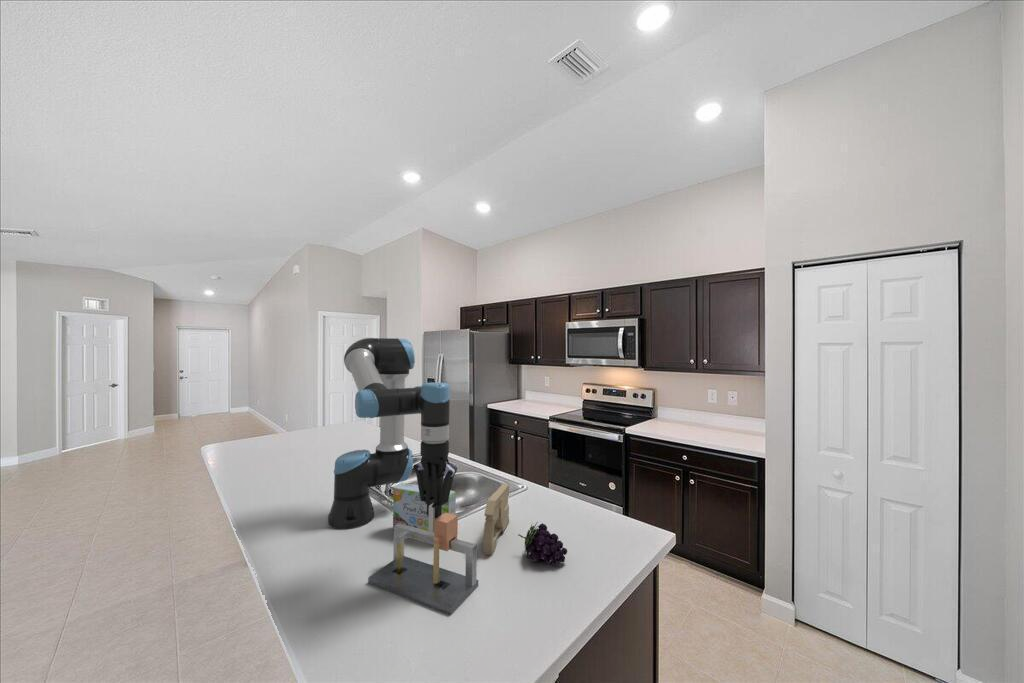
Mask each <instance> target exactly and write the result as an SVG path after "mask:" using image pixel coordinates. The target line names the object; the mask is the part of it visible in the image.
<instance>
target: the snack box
mask: <svg viewBox="0 0 1024 683" xmlns="http://www.w3.org/2000/svg"><path fill="white" fill-rule="evenodd" d="M392 490H393V491H392V494H393V495H392V532H393V533H394V526H395V525H397V524H398V523H400V524H404V525H408V526H411V527H415V528H419V529H422V530H426V531H429V516H427V504H426V502H424V501H421V499H420V493H419V487H418V484H412V483H407V482H400V483H399V484H397V485H395V486H393V488H392ZM456 492H457V491H455V490H450V495H449V500H448V502H447V503H445V504H444V505H442V515H443V514H444V513H449V514H453V515H456V514H457V513H456V512H457V511H456V510H457V509H456V508H457V507H456V506H457V503H456V502H457V494H456ZM424 495H425V494H424ZM430 532H431V531H430ZM433 533H434V532H433Z"/></svg>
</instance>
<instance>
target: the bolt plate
mask: <svg viewBox="0 0 1024 683" xmlns="http://www.w3.org/2000/svg"><path fill="white" fill-rule="evenodd" d="M433 565H434V564H429V563H426V562H425V561H421V560H417V559H415V558H412V557H407V556H405V555H404V559H402V574H400V575H398V574H397V561H394V560H392V561H390V562H388V563H387V564H386V565H384V566H383V567H381V568H379V570H376V572H374V573H372V574H371V575H369V576H368V577H367V578H368V579H367V583H368V584H369V585H371V586H374V587H377V588H380V589H382V590H384V591H387V592H389V593H392V594H395V595H397V596H400V597H403V598H404V599H405V598H406V599H408V600H410V601H413V602H415V603H418V604H421V605H424V606H426V607H429V608H431V609H433V610H437V611H439V612H442V613H443V614H447V615H449V616H452V615H453V613H455V611H457V610H458V608H459V607H460V606H461V605H462V604H463V603H464V602H465V601H466V600H467V599H468V597H470V596H471V594H473V592H474V591H475V590H476V589H477V588H478V587H479V579H477V578H476V583H475V584H474V585H473V586H469V585H466V584H465V579H466V575H464V574H460V573H458V572H455V571H451V570H448V569H447V568H446V569H445V568H442V567H440V566H439V582H438V583H437V584H436V583H433ZM440 587H441V588H444V589H440Z"/></svg>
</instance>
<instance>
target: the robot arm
mask: <svg viewBox="0 0 1024 683" xmlns="http://www.w3.org/2000/svg"><path fill="white" fill-rule="evenodd" d="M415 357H416V355H415V351H414V347H413V345H412V343H411V341H410V340H408V339H406V338H397V337H396V338H387V337H386V338H385V337H384V338H382V337H366V338H362V339H359V340H356V341H354V343H352V344H351V345H350V346H348V347H347V349H346V351H345V352H344V356H343V362H344V366H345V368H346V370H347V371H348V372H349V373H351V376H352V377H353V380H354V382H355V385H356V389H357V390H358V391H357V392H356V393H355V398H354V409H355V415H356V416H357V417H358V418H360V419H362V418H363V419H374V418H380V425H379V428H380V429H379V431H380V432H379V444H377V445H376V446H375V452H374V453H373V452H372V453H371V452H370V450H368V449H357V450H352V451H348V452H345V453H342V454H341V455H339V456H338V457H337V458H336V459H335V462H334V469H333V474H334V475H333V476H334V478H333V480H334V482H333V487H334V488H333V501H332V505H331V509H330V512H329V513H328V516H327V525H328V526H329V527H330V528H334V529H338V530H339V529H340V530H347V529H355V528H358V527H361V526H364V525H366V524H368V523H370V522H372V520H373V519H374V518H375V508H374V506H373V503H372V499H371V497H370V488H373V487H374V488H375V487H379V486H384V485H390V484H397V483H402V482H405V481H406V480H407V481H408V479H409V478H410V477H411V474H412V471H413V470H414V472H415V474H416V475H415V476H416V480H417V485H418V487H419V493H420V499H421V501H424V502H426V504H427V516H429V531H431V532H434V520H435V519H436V518H438V517H439V516H441V515H442V505H444V504H445V503H447V502H448V500H449V495H450V491H452V485H453V480H454V478H455V477H454V476H455V475H456V474H457V471H458V470H457V469H456V467H452V466H451V465H450V461H449V457H448V456H449V454H450V441H449V439H450V402H451V401H450V400H451V394H450V385H449V384H448V383H447V382H437V381H436V382H424V383H423V384H422V385H421V386H419V385H418V386H414V387H406V386H405V385H406V384H405V383H406V378H407V377H408V376H409V375H410V370H413V369H414V368H415V363H416V358H415ZM419 414H420V440H422V441H421V442H420V456H421V458H420V461H419V462H418V463H415V464H414V458H413V450H411V449H410V448H409V446H408V445H409V444H407V443H406V442H405V416H407V415H419ZM424 494H425V495H424Z"/></svg>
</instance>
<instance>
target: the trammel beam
mask: <svg viewBox="0 0 1024 683" xmlns="http://www.w3.org/2000/svg"><path fill="white" fill-rule="evenodd" d="M408 538H409V539H413V540H416V541H419V542H423V543H427V544H428V545H433V546H434V544H433V538H434V533H433V532H430V531H426V530H422V529H419V528H415V527H411V526H408V525H404V524H400V523H398V524H397V525H395V526H394V532H393V556H392V557H393V560H394V561H397V574H398V575H400V574H402V559H404V556H405V540H407V539H408ZM477 546H478V545H477V544H476V543H473V542H468V541H465V540H461V539H458V538H457V539H455V538H452V539H451V540H450V541H449V551H454V552H457V553H461V554H464V555H465V576H466V579H465V584H466V585H469V586H473V585H474V584H475V583H476V579H477V569H478V568H477V566H478V565H477V562H478V560H477V558H478V556H477V554H478V552H477V551H478V550H477V549H478V548H477ZM393 560H392V561H393Z"/></svg>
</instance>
